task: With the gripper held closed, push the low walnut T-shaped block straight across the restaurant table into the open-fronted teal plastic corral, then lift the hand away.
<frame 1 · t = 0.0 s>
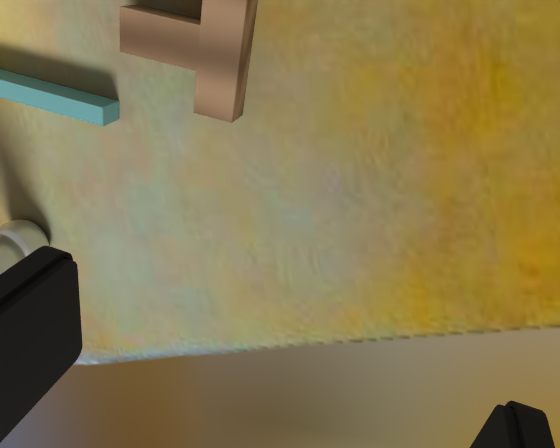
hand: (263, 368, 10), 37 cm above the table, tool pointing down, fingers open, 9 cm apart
walnut T-block: (192, 40, 45), on the table
plastic bottle: (36, 235, 63), on the table
teal corral: (40, 3, 47), on the table
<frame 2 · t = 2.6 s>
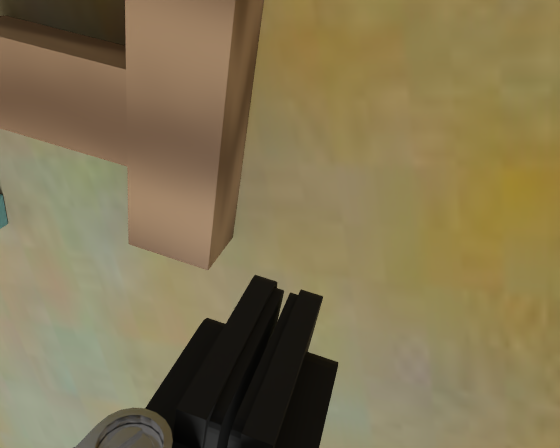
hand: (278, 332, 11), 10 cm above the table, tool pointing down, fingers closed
walnut T-block: (124, 90, 21), on the table
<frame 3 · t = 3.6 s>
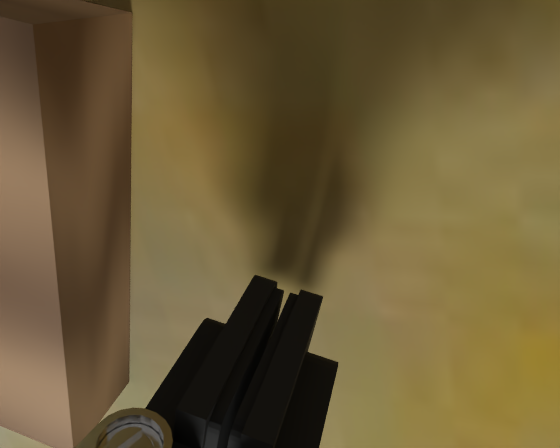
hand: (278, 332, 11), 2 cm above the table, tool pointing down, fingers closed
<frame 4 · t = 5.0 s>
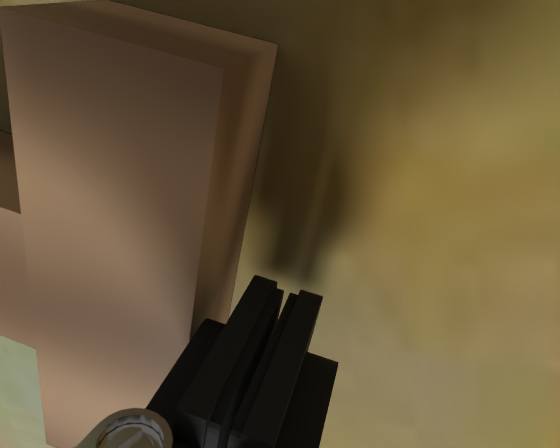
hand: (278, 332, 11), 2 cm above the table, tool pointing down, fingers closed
walnut T-block: (45, 207, 13), on the table, touching gripper
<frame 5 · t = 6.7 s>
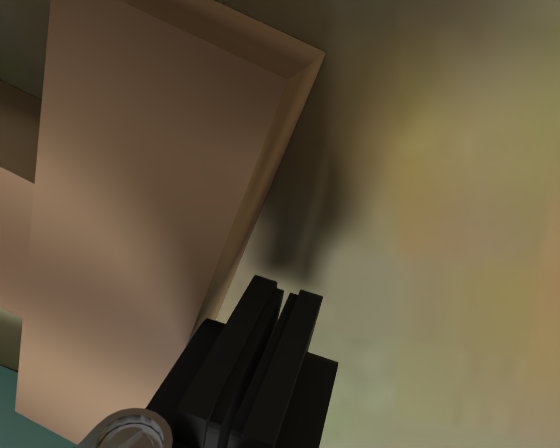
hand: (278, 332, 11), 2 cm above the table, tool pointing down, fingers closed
walnut T-block: (45, 171, 13), on the table, touching gripper
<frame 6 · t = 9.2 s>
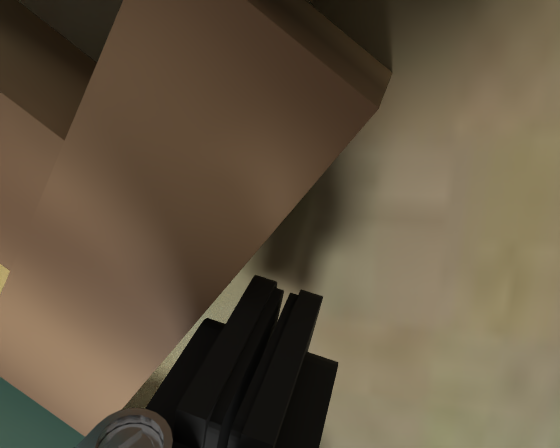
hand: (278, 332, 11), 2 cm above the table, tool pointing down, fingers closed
walnut T-block: (54, 115, 12), on the table
teal corral: (79, 226, 13), on the table
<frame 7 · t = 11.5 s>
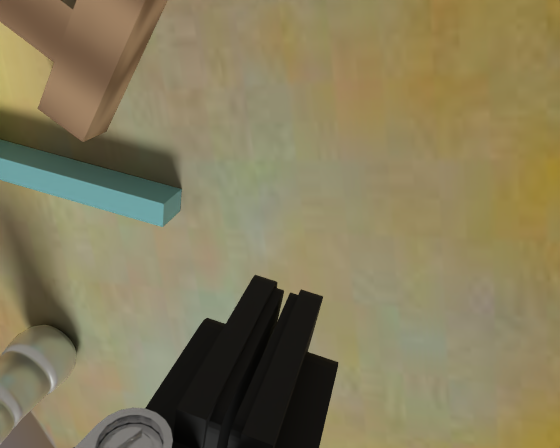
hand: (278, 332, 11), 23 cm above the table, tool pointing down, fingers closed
walnut T-block: (67, 15, 33), on the table
plastic bottle: (59, 340, 50), on the table
teal corral: (77, 62, 35), on the table
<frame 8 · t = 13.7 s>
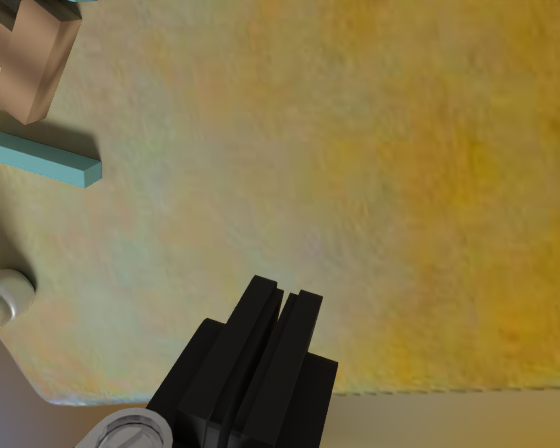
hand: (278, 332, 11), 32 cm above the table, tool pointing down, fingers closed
walnut T-block: (13, 33, 46), on the table
plastic bottle: (22, 282, 63), on the table
teal corral: (21, 67, 47), on the table
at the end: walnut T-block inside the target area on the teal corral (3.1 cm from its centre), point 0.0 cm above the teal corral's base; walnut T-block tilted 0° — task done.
